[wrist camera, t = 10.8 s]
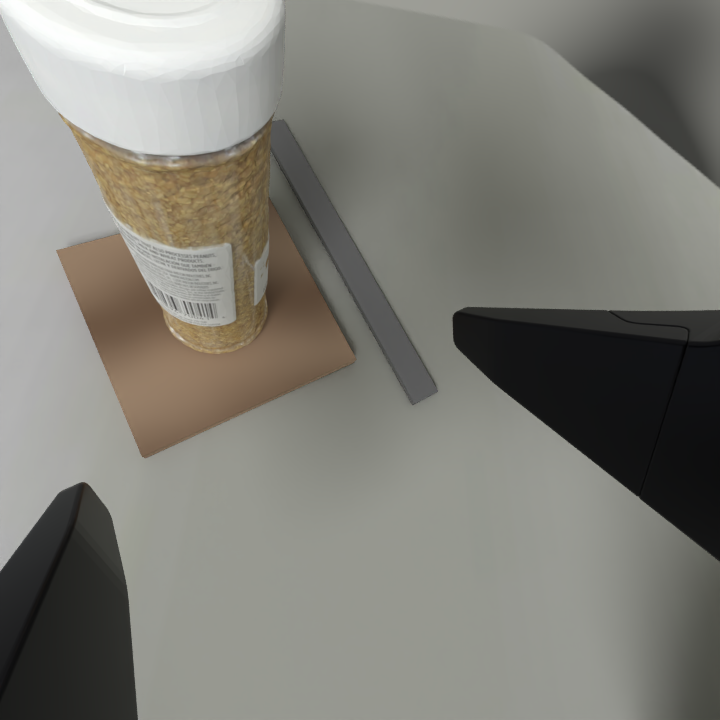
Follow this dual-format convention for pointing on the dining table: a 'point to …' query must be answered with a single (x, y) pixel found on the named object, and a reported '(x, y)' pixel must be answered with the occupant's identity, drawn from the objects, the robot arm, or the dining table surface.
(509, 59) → the dining table surface
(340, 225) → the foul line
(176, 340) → the board
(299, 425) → the dining table surface
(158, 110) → the sprinkles bottle
